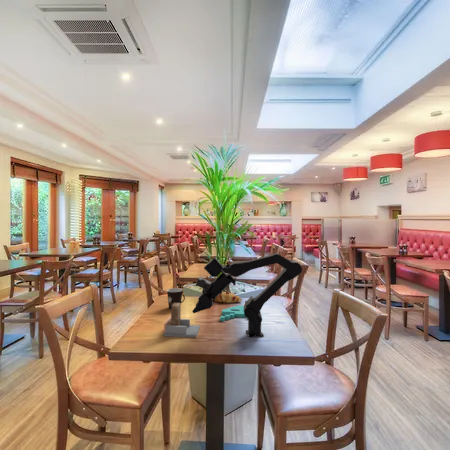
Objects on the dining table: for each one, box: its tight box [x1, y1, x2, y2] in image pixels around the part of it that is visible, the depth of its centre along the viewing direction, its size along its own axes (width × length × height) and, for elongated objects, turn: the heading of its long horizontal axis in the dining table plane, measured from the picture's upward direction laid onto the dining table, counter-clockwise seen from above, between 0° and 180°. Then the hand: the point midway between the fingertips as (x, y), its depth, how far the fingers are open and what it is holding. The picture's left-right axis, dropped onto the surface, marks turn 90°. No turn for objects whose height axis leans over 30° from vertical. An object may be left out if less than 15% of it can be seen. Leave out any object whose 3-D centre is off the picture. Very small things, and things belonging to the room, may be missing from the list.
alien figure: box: [219, 305, 262, 322], centre depth 149 cm, size 20×2×20 cm
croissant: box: [213, 292, 243, 304], centre depth 174 cm, size 21×10×8 cm, turn 77°
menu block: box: [170, 303, 182, 326], centre depth 126 cm, size 3×5×11 cm, turn 177°
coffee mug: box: [166, 287, 186, 310], centre depth 158 cm, size 12×9×10 cm
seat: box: [162, 315, 201, 338], centre depth 126 cm, size 14×11×5 cm
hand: (194, 309), depth 126 cm, fingers open, 9 cm apart
